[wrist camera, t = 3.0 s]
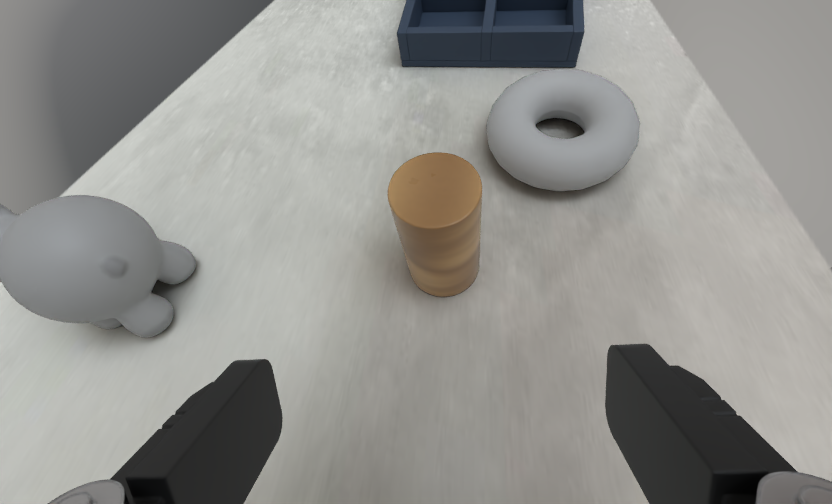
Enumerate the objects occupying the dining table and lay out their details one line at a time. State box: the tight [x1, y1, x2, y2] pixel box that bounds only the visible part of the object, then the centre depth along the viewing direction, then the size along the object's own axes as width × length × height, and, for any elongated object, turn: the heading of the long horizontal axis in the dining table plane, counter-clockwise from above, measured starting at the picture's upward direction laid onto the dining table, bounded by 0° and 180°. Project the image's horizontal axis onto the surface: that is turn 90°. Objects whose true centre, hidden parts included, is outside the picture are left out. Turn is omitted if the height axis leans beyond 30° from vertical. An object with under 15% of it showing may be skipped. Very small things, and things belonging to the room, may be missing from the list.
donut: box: [486, 68, 640, 191], centre depth 28 cm, size 10×4×10 cm
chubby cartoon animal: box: [0, 195, 196, 337], centre depth 24 cm, size 7×12×8 cm, turn 76°
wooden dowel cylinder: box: [388, 153, 482, 297], centre depth 22 cm, size 4×4×8 cm
